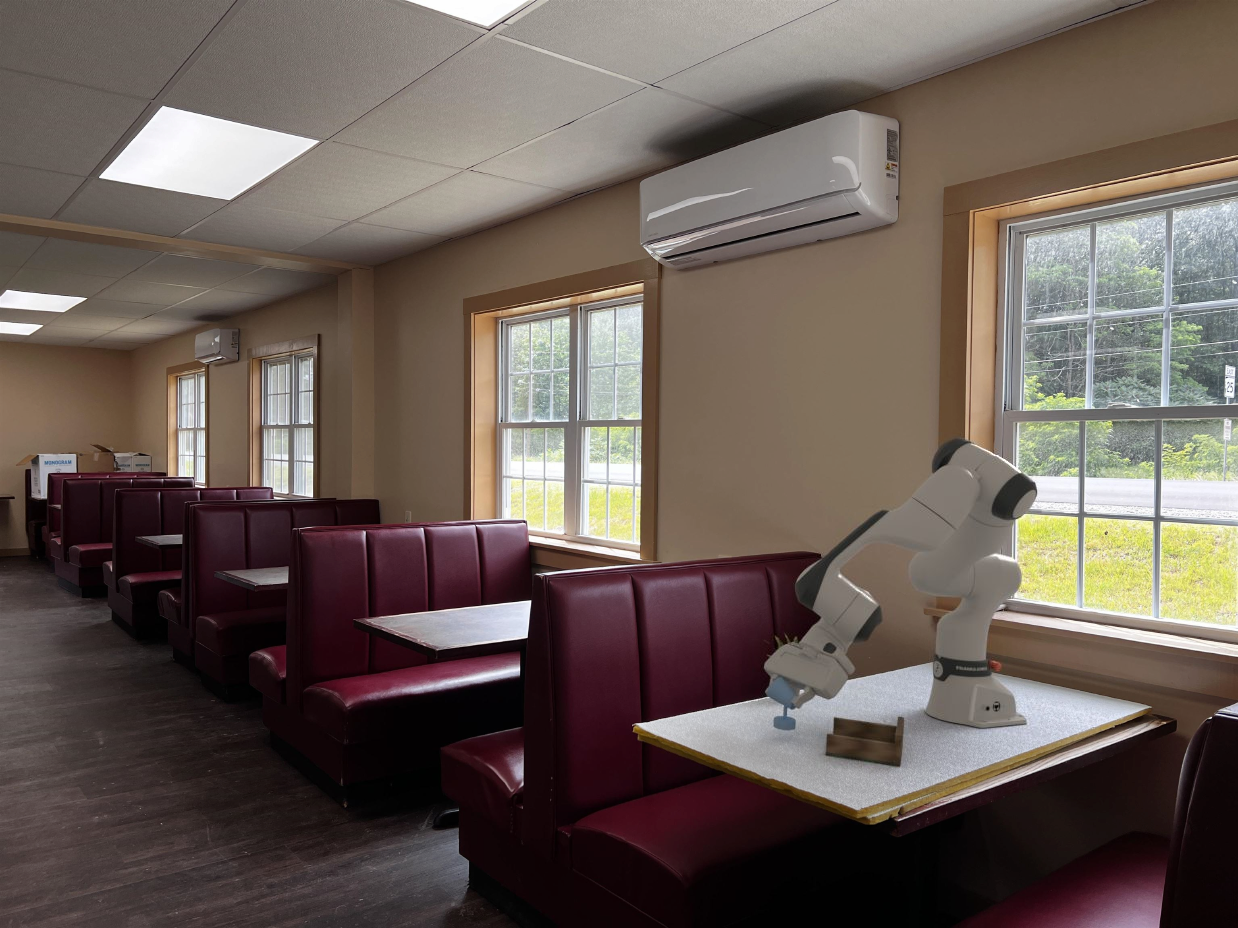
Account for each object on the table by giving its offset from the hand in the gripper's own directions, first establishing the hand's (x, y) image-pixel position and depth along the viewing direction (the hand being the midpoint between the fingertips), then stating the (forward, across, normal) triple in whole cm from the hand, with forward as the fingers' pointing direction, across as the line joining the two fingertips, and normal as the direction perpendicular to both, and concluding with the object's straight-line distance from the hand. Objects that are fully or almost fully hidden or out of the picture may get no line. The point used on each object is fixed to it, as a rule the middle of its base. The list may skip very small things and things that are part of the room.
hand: (781, 700), depth 182 cm
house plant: (-10, -23, +21) cm, 33 cm away
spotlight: (+4, 0, +4) cm, 6 cm away
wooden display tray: (-3, +13, +14) cm, 19 cm away
